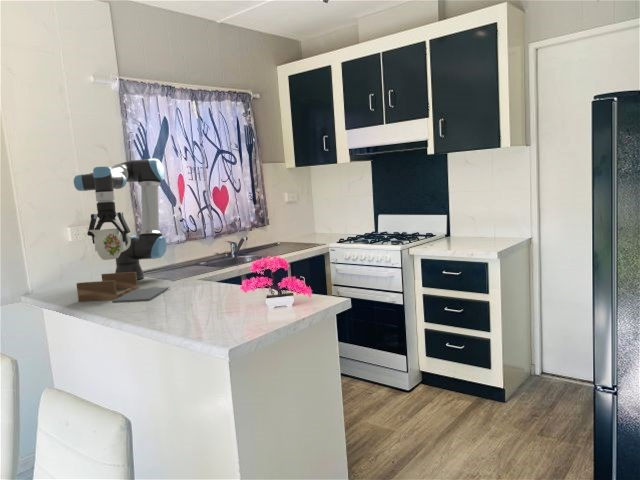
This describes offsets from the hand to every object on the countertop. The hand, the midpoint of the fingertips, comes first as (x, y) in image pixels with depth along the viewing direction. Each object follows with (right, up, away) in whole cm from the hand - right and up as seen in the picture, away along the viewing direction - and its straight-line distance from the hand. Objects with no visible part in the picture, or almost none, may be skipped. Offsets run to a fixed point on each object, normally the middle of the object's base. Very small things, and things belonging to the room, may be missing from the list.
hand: (110, 250), depth 218 cm
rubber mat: (+16, -20, -4) cm, 26 cm away
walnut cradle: (-2, -20, +4) cm, 21 cm away
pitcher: (+1, -4, 0) cm, 4 cm away
